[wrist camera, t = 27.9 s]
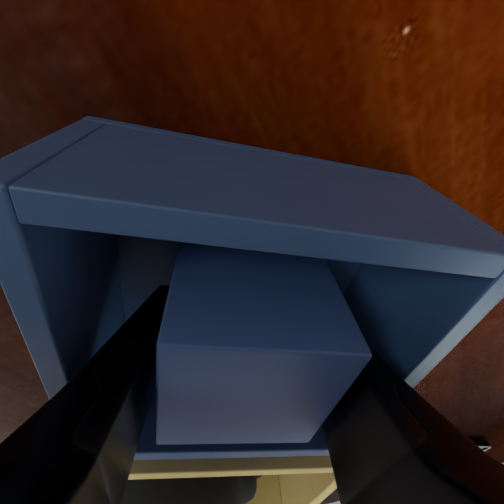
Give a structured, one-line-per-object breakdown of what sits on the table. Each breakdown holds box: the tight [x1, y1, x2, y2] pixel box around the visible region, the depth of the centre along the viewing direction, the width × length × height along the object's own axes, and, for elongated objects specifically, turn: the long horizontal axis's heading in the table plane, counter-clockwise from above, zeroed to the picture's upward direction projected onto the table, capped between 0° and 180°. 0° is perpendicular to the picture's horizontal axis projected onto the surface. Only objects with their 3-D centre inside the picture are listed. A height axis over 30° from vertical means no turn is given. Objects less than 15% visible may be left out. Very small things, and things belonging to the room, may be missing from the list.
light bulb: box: [121, 475, 262, 504], centre depth 15 cm, size 6×6×10 cm
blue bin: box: [0, 116, 504, 460], centre depth 9 cm, size 10×10×4 cm
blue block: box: [156, 242, 372, 445], centre depth 9 cm, size 4×4×4 cm
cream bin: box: [128, 456, 337, 504], centre depth 15 cm, size 12×11×4 cm
